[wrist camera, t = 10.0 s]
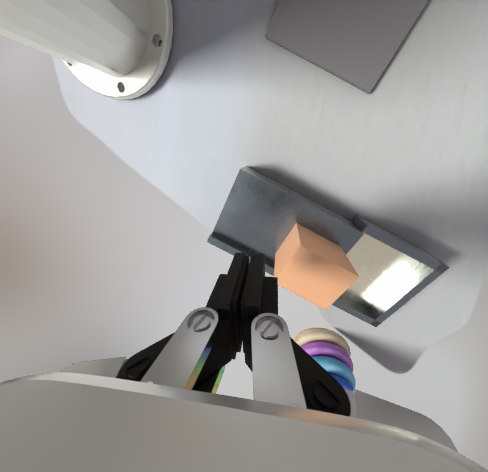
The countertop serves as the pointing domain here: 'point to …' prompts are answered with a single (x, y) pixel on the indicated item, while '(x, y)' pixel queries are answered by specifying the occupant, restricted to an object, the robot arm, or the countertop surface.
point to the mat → (345, 34)
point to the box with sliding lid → (333, 229)
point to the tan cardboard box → (313, 267)
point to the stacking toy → (329, 353)
